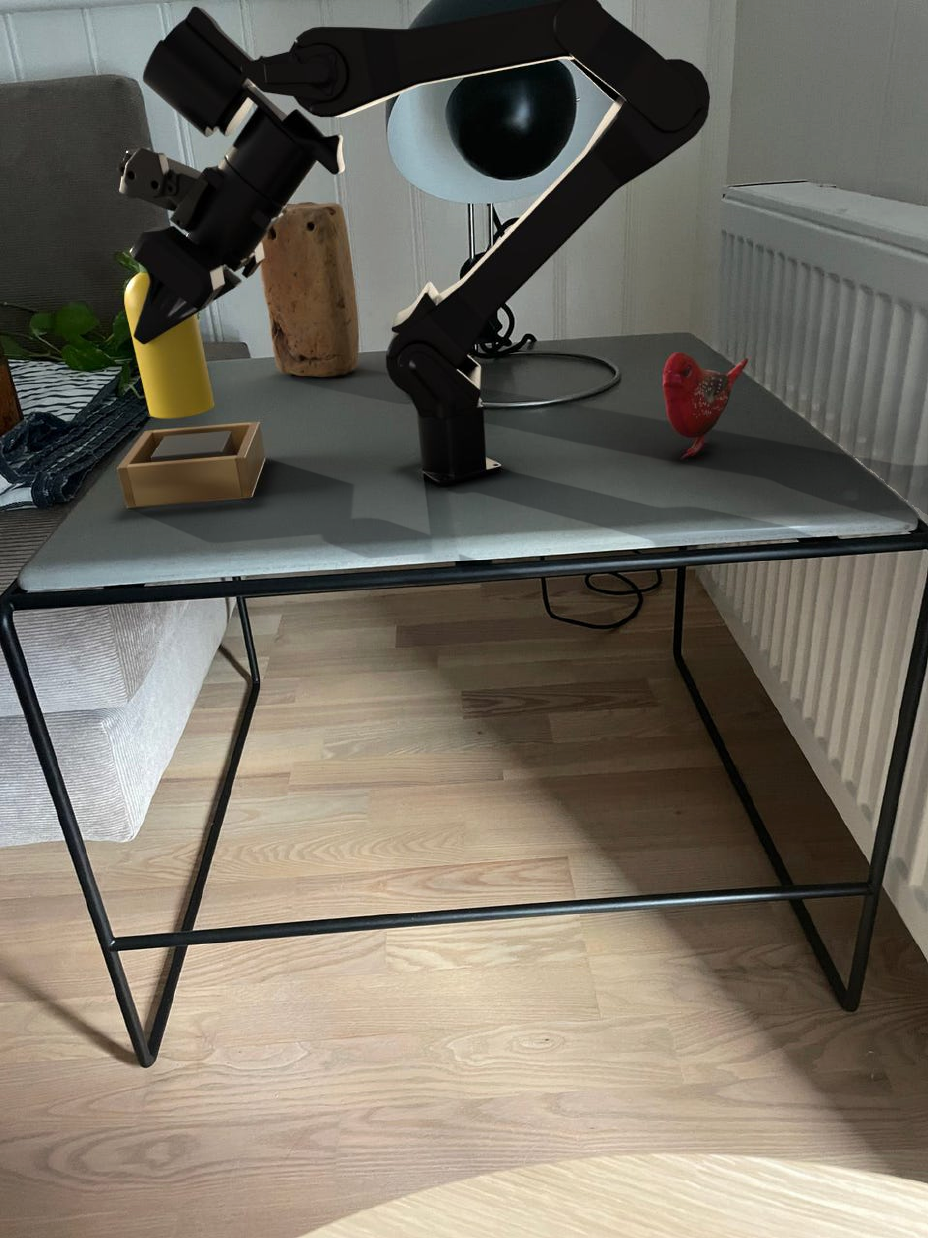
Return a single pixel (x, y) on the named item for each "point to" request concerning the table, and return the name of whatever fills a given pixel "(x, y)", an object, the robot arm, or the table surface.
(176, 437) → the grey block
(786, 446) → the table surface
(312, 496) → the table surface
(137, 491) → the crate
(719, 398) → the decorative bird figurine
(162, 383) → the lemon bottle
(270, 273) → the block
